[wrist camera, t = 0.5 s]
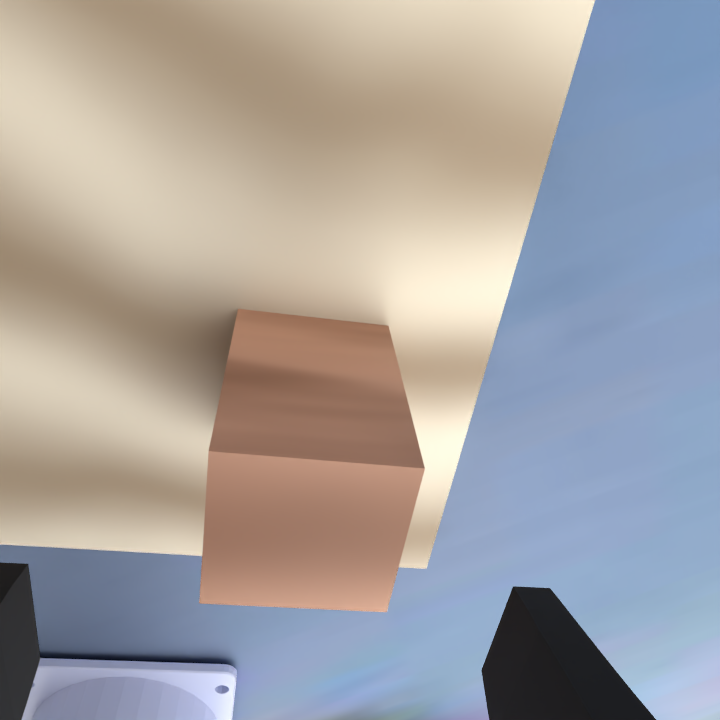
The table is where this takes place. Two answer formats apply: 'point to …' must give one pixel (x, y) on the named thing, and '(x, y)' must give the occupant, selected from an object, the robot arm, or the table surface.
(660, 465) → the table surface
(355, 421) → the block
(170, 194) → the build mat
